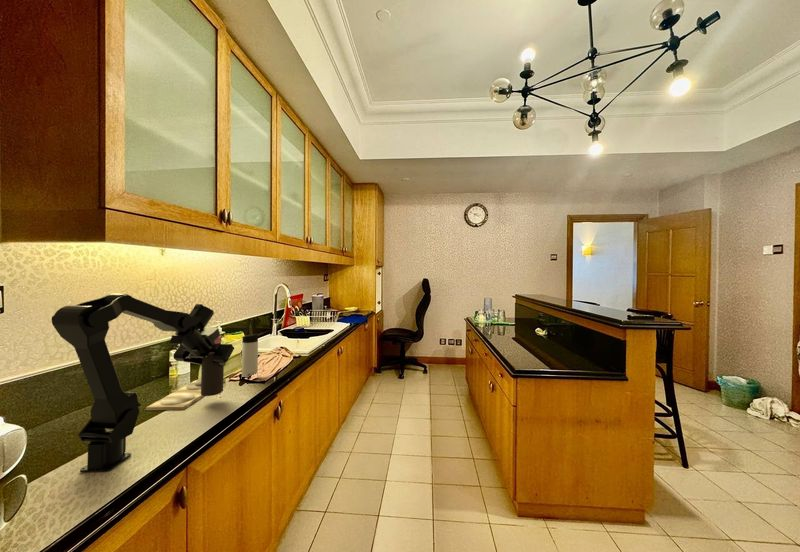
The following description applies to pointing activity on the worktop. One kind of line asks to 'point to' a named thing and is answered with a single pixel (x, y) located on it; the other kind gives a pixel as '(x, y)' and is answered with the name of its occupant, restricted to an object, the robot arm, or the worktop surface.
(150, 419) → the worktop surface
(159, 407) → the board
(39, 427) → the worktop surface
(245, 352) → the travel mug
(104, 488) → the worktop surface
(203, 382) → the vinegar
